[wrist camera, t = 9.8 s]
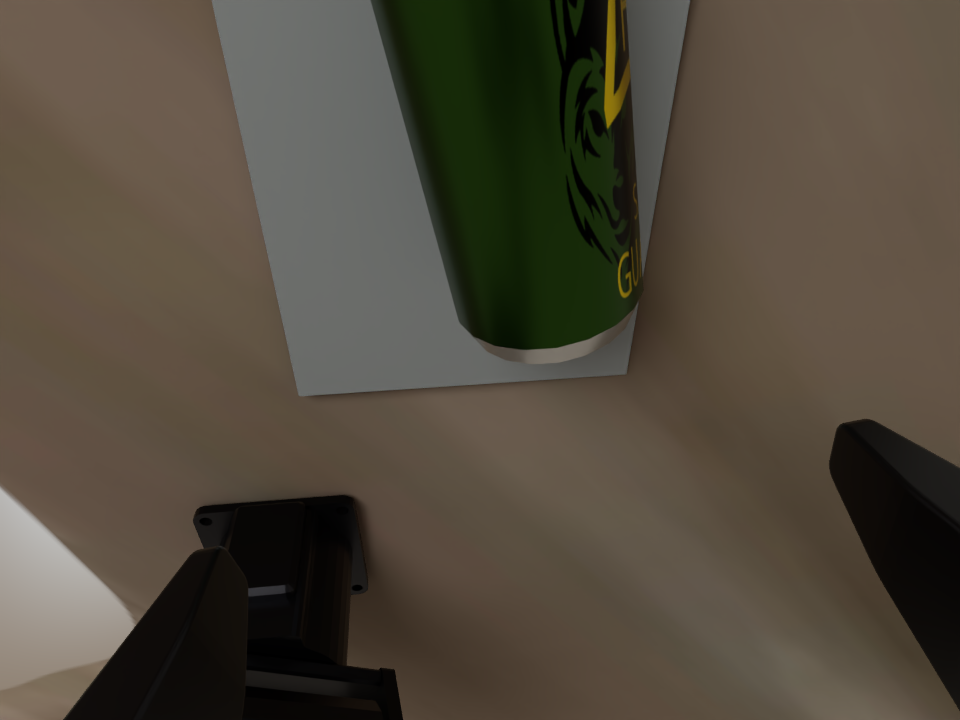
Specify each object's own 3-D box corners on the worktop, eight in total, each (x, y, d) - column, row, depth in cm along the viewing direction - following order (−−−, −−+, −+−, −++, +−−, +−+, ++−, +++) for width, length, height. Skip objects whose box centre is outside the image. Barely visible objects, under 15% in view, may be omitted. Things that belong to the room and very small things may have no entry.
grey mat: (622, 366, 25) (626, 374, 25) (300, 387, 24) (298, 396, 24) (711, -176, 15) (720, -177, 15) (178, -177, 15) (172, -178, 14)
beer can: (459, 386, 18) (290, -185, 10) (461, 279, 22) (342, -183, 15) (664, 353, 17) (639, -280, 10) (626, 249, 21) (588, -249, 14)
